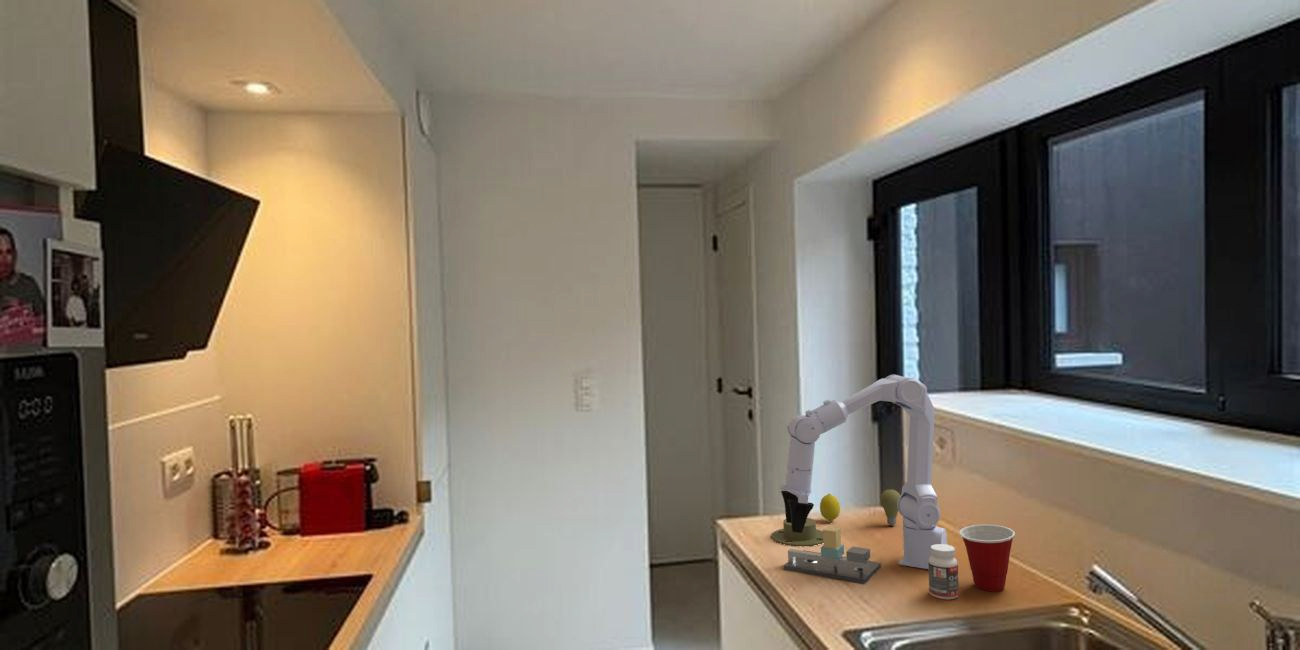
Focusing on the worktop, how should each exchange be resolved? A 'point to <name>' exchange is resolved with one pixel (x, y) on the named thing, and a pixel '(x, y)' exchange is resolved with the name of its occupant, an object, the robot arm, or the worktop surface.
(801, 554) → the rail
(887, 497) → the light bulb
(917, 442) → the robot arm
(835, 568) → the hole plate
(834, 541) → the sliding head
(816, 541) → the flange
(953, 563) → the pill bottle
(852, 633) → the worktop surface
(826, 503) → the lemon
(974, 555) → the plastic cup
